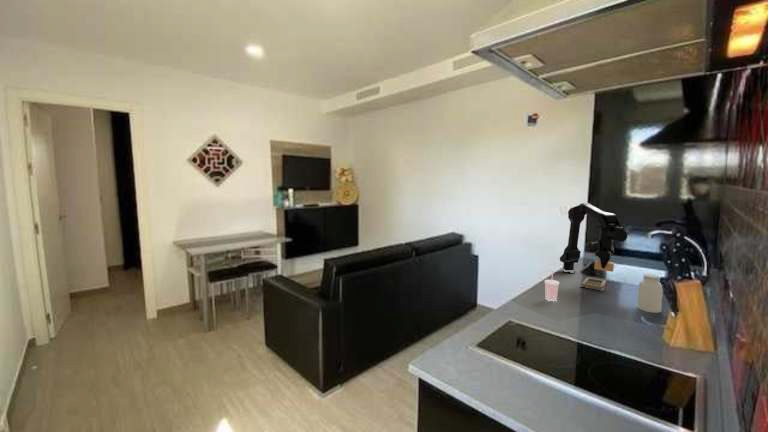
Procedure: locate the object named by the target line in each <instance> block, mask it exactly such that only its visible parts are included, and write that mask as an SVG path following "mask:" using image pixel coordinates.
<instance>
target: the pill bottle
mask: <svg viewBox="0 0 768 432" xmlns="http://www.w3.org/2000/svg"><path fill="white" fill-rule="evenodd" d="M642 277H643V278H642V279H643V280H640V281H639V283H638V296H637V308H638V310H640V311H643V312H646V313H652V314H653V313H654V314H658V313H661V312H662V304H663V292H664V291H663V290H664V288H663V289H662V286H663V284H662V283H661V282H660V276H659V275H655V274H648V273H645V274H643V276H642ZM661 284H662V285H661Z"/></svg>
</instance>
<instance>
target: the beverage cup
mask: <svg viewBox="0 0 768 432" xmlns="http://www.w3.org/2000/svg"><path fill="white" fill-rule="evenodd" d="M553 278H554V270H551V279H545V280H544V284H545V286H544V290H545V291H544V292H545V295H544V296H545V299H546V300H548V301H547V302H549V301H553V302H552V303H555V302H554V301H556V302H557V300H558V291H559V285H560V281H559V280H555V279H553ZM545 299H544V300H545ZM546 300H545V301H546Z"/></svg>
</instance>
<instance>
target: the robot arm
mask: <svg viewBox="0 0 768 432" xmlns="http://www.w3.org/2000/svg"><path fill="white" fill-rule="evenodd" d="M567 214H568V220H569V221H570V222H569V223H570V226H569V234H568V239H567V240H568V242H567V246H566V247H565V248H564V250H563V254H562V255H561V256H560V257H559V261H560V262H561V263H563V265H562V267H563V268H562V270H563V269H565V270H574V271H575V263H577V264H578V263H579V261H580V258H581V254H582V253H581V250H580V249H579V247H578V245H579V236H580V230H581V224H582V223H583V221H584V220H585V217H586V215H587V214H588V215H590V216H592V217H594V218H595V219H596V222H597V223H598V224H599V225H598V226H597V228H598V229H599V238H598V240H597V241H594V242H592V241H591V242H588V243H586V244H585V248H586V250H587V251H591V250H596V251H595V255H594V256H595V257H598V259H599V261H601V266H602V268H603V269H604V268H605V267H606V265H607V263H608V262H610V260H611V258H612V256H613V254H614V252H615V248H614V246H613V243H614V241H616V242H619V243H620V242H621V243H622V242H625V241H626V240H627V239H628V233H627V232H626V230H625V228H624V227H622V225H621V223H620V221H619V219H618V216H617V214H615V213H612V212H606V211H604V210H601V209H600V208H598V207H596V206H594V205H592V204H591V203H589V202H582V203H580V204H578V205H576V206H573V207H571V208H570V209H569V210H568V212H567Z"/></svg>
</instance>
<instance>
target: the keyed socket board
mask: <svg viewBox="0 0 768 432" xmlns="http://www.w3.org/2000/svg"><path fill="white" fill-rule="evenodd" d="M589 280H590V281H594V282H600V283H601V285H600V286H598V285H592V284H586V283H587V282H588V281H589ZM606 283H607V280H606V279H605V280H604V279H601V278H600V279H598V278H593V277H586V278H584V280H583V281H582V282H581V285H582V286H584V287H589V288H591V289H596V290H602V291H603V290H605V289H604V288H603V287H604V286H605V284H606ZM591 289H590V290H591ZM596 290H595V291H596ZM602 291H601V292H602ZM603 292H604V291H603Z"/></svg>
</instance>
